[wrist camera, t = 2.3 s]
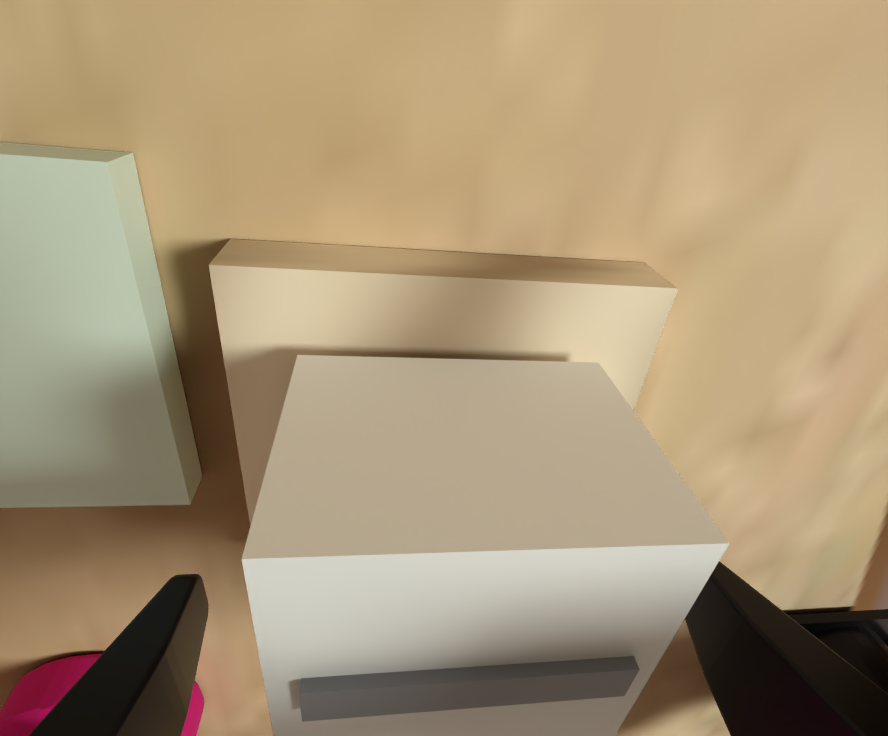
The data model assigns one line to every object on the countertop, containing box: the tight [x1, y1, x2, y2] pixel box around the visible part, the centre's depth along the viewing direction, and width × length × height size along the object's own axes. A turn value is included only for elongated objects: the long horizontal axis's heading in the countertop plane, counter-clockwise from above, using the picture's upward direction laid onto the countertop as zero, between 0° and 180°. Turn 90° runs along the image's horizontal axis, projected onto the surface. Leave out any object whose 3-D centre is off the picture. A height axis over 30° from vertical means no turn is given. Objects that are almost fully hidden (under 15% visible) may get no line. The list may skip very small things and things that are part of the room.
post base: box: [209, 239, 678, 526], centre depth 11 cm, size 9×9×6 cm
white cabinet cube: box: [242, 355, 730, 736], centre depth 9 cm, size 6×6×5 cm
